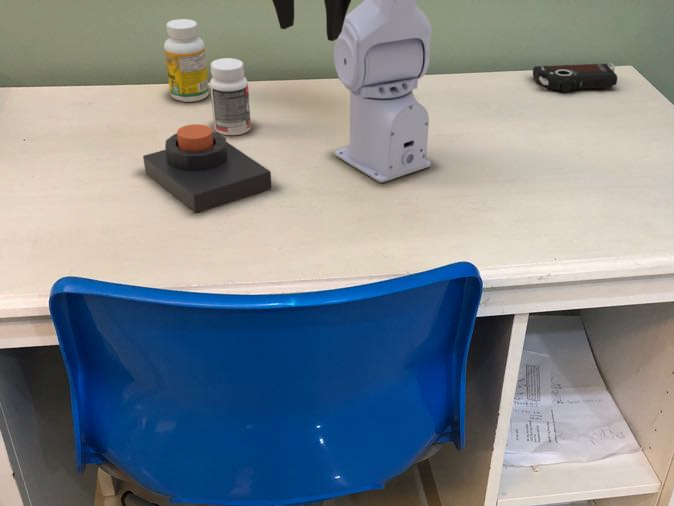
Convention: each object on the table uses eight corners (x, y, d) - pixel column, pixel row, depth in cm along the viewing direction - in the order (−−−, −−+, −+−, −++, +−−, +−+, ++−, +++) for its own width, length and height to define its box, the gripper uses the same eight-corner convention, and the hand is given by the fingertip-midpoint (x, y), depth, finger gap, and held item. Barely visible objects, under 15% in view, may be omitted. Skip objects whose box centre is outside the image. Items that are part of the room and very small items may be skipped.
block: (271, 188, 100) (270, 156, 98) (195, 213, 96) (191, 179, 93) (218, 152, 107) (215, 120, 105) (145, 173, 103) (140, 140, 100)
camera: (620, 75, 123) (545, 78, 123) (616, 93, 125) (542, 96, 125) (607, 55, 128) (534, 58, 127) (603, 74, 130) (531, 77, 129)
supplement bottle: (212, 100, 119) (205, 28, 113) (173, 104, 118) (164, 31, 112) (205, 86, 123) (198, 15, 117) (167, 90, 122) (158, 18, 116)
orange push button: (220, 147, 100) (218, 133, 99) (189, 156, 98) (187, 141, 97) (202, 135, 102) (201, 121, 101) (172, 143, 100) (170, 129, 99)
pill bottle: (256, 132, 112) (252, 66, 107) (222, 138, 110) (216, 72, 105) (242, 118, 115) (238, 54, 110) (208, 125, 113) (202, 60, 108)
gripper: (240, -87, 105) (247, 29, 114) (339, -69, 99) (339, 52, 108) (275, -97, 110) (280, 16, 119) (372, -80, 104) (369, 37, 113)
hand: (310, 32), depth 114 cm, fingers open, 7 cm apart
